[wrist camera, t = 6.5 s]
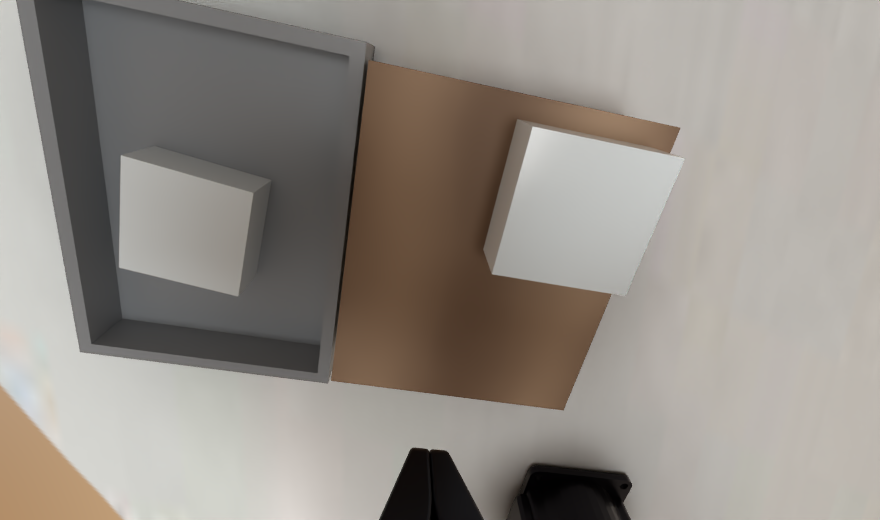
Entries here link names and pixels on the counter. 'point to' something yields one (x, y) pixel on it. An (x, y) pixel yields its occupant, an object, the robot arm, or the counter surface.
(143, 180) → the tile
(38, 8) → the tray
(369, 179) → the brown wooden block
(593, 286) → the tile
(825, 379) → the counter surface
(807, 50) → the counter surface
